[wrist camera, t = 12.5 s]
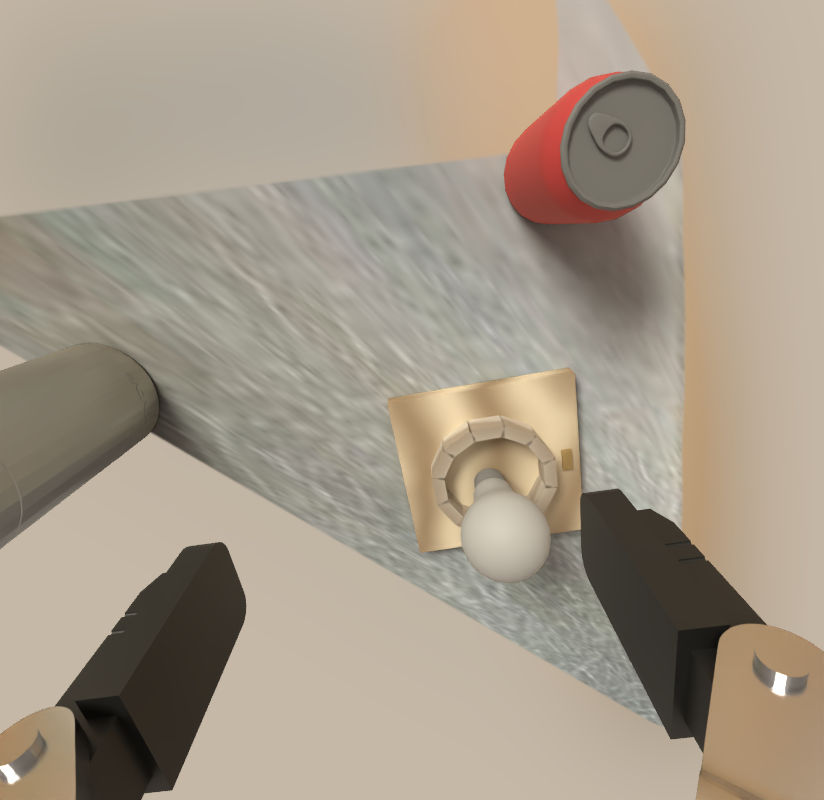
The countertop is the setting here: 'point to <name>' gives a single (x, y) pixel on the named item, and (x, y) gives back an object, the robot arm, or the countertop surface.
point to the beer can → (597, 150)
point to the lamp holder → (489, 450)
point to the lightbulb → (504, 531)
